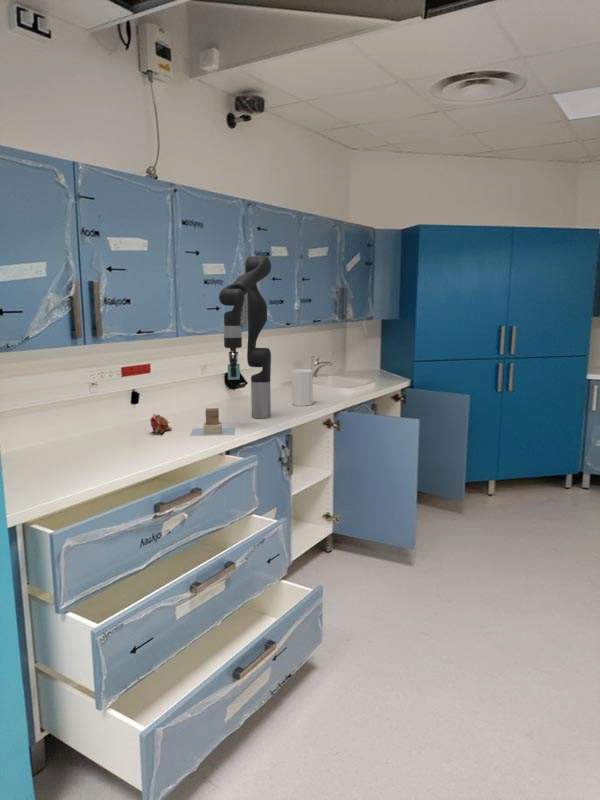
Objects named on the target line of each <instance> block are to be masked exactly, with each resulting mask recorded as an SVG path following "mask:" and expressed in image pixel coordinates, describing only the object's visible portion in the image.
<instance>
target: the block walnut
mask: <svg viewBox="0 0 600 800" xmlns="http://www.w3.org/2000/svg"><path fill="white" fill-rule="evenodd" d="M219 415H220V411H219V407H218V408H216V407H214V408H212V407H211V408H210V407H209V408H205V422H206V425H218V424H219V422H220V416H219Z"/></svg>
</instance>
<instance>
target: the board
mask: <svg viewBox="0 0 600 800" xmlns="http://www.w3.org/2000/svg"><path fill="white" fill-rule="evenodd" d="M235 431H236V427H233V426H232V427H222V432H221V434H210V435H204V427H202V428H201V427H199V428H198V427H197V428H196V427H195V428H194V427H193V428H192V430H191V432H190V434H189V436H190V437H197V436H198V437H201V436H203V437H205V436H206V437H207V436H235Z"/></svg>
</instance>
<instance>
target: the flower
mask: <svg viewBox="0 0 600 800" xmlns="http://www.w3.org/2000/svg"><path fill="white" fill-rule="evenodd" d="M149 419H150V427H152V433H153V434H155V433H156V432H157V433H158V434H160V435H162V434H163V433H166V431H167V430H172V429H173V428H172V427H171V426H170V425H169V424H170V421H169V420H168V419H167V418H165V417H164V416H163V415H161V414H155V413H153V414H152V416H151V417H150V418H149Z"/></svg>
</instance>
